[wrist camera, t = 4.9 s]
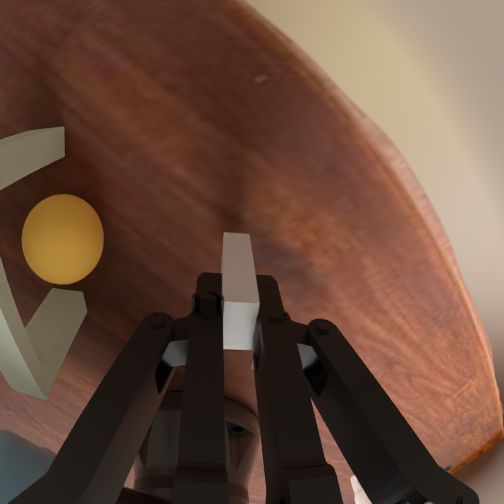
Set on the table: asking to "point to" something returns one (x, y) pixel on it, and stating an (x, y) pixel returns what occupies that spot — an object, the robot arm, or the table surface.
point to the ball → (62, 239)
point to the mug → (359, 492)
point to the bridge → (57, 301)
